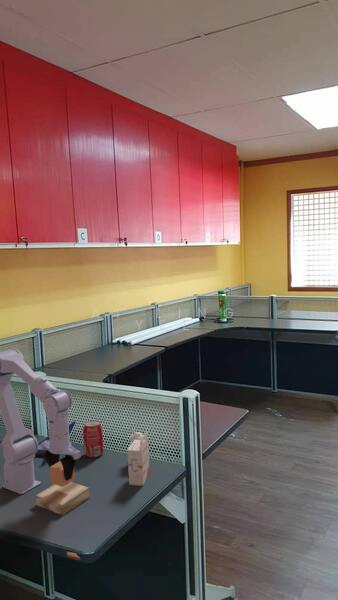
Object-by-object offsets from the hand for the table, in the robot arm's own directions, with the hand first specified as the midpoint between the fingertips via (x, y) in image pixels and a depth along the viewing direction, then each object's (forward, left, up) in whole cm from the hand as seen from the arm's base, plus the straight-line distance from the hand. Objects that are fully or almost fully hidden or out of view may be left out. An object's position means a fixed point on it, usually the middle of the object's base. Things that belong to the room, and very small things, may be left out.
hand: (61, 476), depth 137 cm
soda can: (-14, +29, -8) cm, 33 cm away
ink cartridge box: (+12, +22, -8) cm, 26 cm away
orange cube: (0, 0, -2) cm, 2 cm away
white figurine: (+5, +32, -8) cm, 33 cm away
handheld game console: (-32, +25, -8) cm, 42 cm away
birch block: (0, 0, -8) cm, 8 cm away
